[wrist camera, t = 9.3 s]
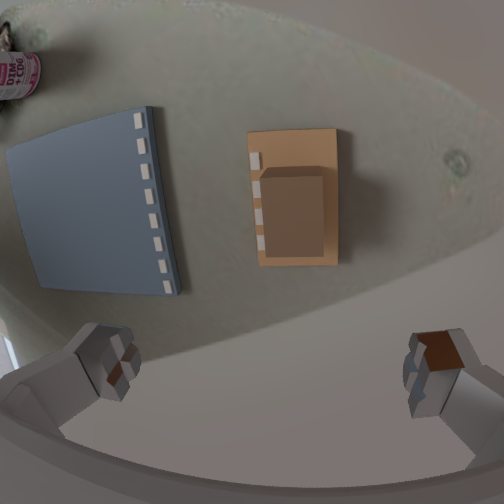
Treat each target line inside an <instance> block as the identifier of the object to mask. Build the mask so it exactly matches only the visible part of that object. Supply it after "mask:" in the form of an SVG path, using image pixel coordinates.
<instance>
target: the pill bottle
mask: <svg viewBox="0 0 504 504" xmlns="http://www.w3.org/2000/svg"><path fill="white" fill-rule="evenodd" d="M40 72H41V66H40V61H39V58H38V57H37V56H36V55H35V54H33V53H26V52H0V100H7V99H17V98H23V97H26V96H28V95H29V94H31V93H32V92H33V90H34V89H35V88H36V86H37V84H38V81H39V78H40Z"/></svg>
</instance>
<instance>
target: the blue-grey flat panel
mask: <svg viewBox="0 0 504 504" xmlns="http://www.w3.org/2000/svg"><path fill="white" fill-rule="evenodd" d="M5 155H6V161H7V167H8V172H9V177H10V182H11V187H12V192H13V196H14V201H15V205H16V209H17V213H18V217H19V221H20V225H21V229H22V232H23V236H24V239H25V242H26V246H27V249H28V252H29V255H30V259H31V262H32V265H33V268H34V271H35V273H36V276H37V279H38V282H39V285H40V287H41V288H50V289H62V290H74V291H88V292H103V293H119V294H137V295H158V296H178V295H179V294H180V292H181V291H182V290H181V285H180V280H179V276H178V271H177V266H176V261H175V256H174V251H173V246H172V240H171V235H170V229H169V224H168V218H167V212H166V207H165V201H164V194H163V188H162V182H161V175H160V168H159V162H158V154H157V147H156V139H155V132H154V123H153V115H152V106H145V107H140V108H136V109H132V110H127V111H123V112H119V113H115V114H111V115H108V116H104V117H100V118H96V119H93V120H89V121H86V122H83V123H79V124H76V125H73V126H70V127H66V128H63V129H60V130H57V131H54V132H51V133H48V134H46V135H43V136H40V137H37V138H34V139H32V140H29V141H26V142H24V143H21V144H19V145H16V146H14V147H11V148H9V149H6V150H5Z"/></svg>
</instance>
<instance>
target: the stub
mask: <svg viewBox="0 0 504 504" xmlns="http://www.w3.org/2000/svg"><path fill="white" fill-rule="evenodd" d="M247 140H248V151H249V162H250V173H251V184H252V195H253V206H254V217H255V228H256V239H257V251H258V262H259V266H337V265H338V161H337V137H336V129H335V128H322V129H291V130H272V131H257V132H248V133H247Z"/></svg>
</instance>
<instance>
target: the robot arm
mask: <svg viewBox="0 0 504 504" xmlns="http://www.w3.org/2000/svg"><path fill="white" fill-rule="evenodd" d="M133 339H134V337H133V334H132V332H131V329H129V328H127V327H123V326H116V325H109V324H100V323H94V322H89V323H86V324H85V325H84V326H83V327H82V328H81V329H80V330H79V331H78V333H77V334H76V335H75V336H74V337H73V338H72V339H71V340H70V341H69V343H68V344H67V345H66V346H65V347H64V348H63V349H62V350H61V351H60V350H57V351H55V352H53V353H51V354H49V355H46V356H44V357H42V358H40V359H38V360H36V361H34V362H32V363H29V364H27V365H25V366H23V367H21V368H19V369H17V370H14V371H12V372H10V373H8V374H6V375H4V376H3V377H2V378H1V379H0V504H504V376H503V375H501V374H500V373H498V372H497V371H495V370H494V369H492V368H490V367H489V366H487V365H482V364H481V362H480V360H479V358H478V356H477V354H476V352H475V350H474V349H473V347H472V345H471V343H470V341H469V339H468V338H467V336H466V334H465V332H464V330H463V329H461V328H457V329H449V330H445V331H433V332H422V333H413V334H412V335H411V337H410V341H409V348H410V351H411V352H410V353H409V354H408V355H407V356H406V357H405V361H404V365H403V382H404V386H405V389H406V390H407V391H409V392H410V396H409V399H408V403H409V408H410V412H411V416H412V418H422V417H431V416H439V415H440V418H441V419H442V420H443V421H444V422H445V423H446V424H447V425H448V426H449V427H450V428H451V429H452V430H453V432H454V433H455V434H456V435H457V436H458V437H459V438H460V439H461V440H462V441H463V442H464V443H465V444H466V445H467V446H468V447H469V448H470V450H471V451H472V452H473V453H474V454H475V455H476V456H475V458H474V459H473V460H472V461H471V463H470V464H469V465H468V466H467V468H466V469H465V470H462V471H458V472H454V473H449V474H445V475H440V476H435V477H430V478H424V479H419V480H412V481H405V482H398V483H390V484H380V485H370V486H356V487H333V488H298V487H275V486H262V485H251V484H242V483H233V482H226V481H219V480H212V479H205V478H200V477H195V476H189V475H184V474H179V473H175V472H170V471H165V470H161V469H157V468H153V467H149V466H145V465H141V464H137V463H134V462H131V461H127V460H124V459H121V458H118V457H114V456H111V455H108V454H105V453H102V452H99V451H96V450H94V449H91V448H88V447H85V446H83V445H80V444H77V443H75V442H72V441H70V440H67V439H65V436H64V435H63V434H62V433H61V431H60V430H59V429H58V428H59V427H60V426H61V425H63V424H64V423H66V422H67V421H69V420H70V419H71V418H73V417H74V416H76V415H77V414H78V413H80V412H81V411H83V410H84V409H85V408H87V407H88V406H90V405H91V404H92V403H94V402H95V401H97V400H98V399H99V397H101V398H105V399H110V400H115V401H119V402H121V401H122V400H123V398H124V396H125V395H126V393H127V391H128V389H129V388H130V386H129V381H130V380H132V379H134V378H135V377H136V376H137V374H138V372H139V370H140V365H141V358H140V353H139V350H138V349H137V348H136V347H135V346H134V345H133V344H132V341H133Z"/></svg>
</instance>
